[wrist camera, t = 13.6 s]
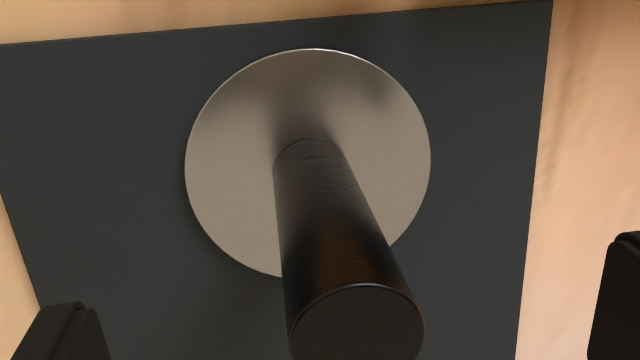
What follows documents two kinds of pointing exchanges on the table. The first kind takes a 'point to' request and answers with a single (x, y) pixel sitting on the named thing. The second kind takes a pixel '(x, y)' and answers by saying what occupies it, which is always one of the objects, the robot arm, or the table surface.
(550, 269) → the table surface
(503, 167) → the mat
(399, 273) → the black rod on disc
